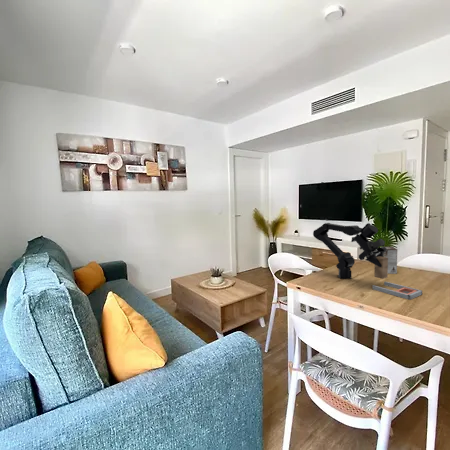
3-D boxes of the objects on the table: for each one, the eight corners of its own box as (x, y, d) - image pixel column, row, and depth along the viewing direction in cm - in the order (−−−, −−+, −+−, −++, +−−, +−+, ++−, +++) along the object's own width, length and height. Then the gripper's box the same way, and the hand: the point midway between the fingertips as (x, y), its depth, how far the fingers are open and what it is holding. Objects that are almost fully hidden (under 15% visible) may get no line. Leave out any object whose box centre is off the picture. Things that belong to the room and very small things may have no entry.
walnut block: (374, 276, 138) (374, 257, 137) (379, 275, 140) (379, 256, 139) (382, 278, 134) (383, 258, 133) (387, 277, 136) (387, 257, 135)
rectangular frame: (394, 294, 127) (394, 291, 127) (404, 290, 132) (404, 287, 132) (408, 298, 122) (408, 294, 122) (417, 294, 126) (417, 290, 126)
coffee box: (380, 269, 170) (381, 246, 169) (391, 269, 169) (391, 246, 167) (386, 273, 161) (386, 249, 160) (397, 273, 160) (398, 249, 158)
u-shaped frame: (372, 289, 136) (372, 285, 136) (384, 284, 142) (385, 281, 141) (409, 299, 120) (409, 295, 120) (422, 294, 126) (422, 290, 126)
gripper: (364, 236, 134) (385, 260, 125) (383, 232, 143) (404, 254, 134) (350, 248, 142) (369, 271, 133) (370, 244, 150) (389, 266, 142)
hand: (383, 265), depth 135 cm, fingers closed on walnut block, 4 cm apart
